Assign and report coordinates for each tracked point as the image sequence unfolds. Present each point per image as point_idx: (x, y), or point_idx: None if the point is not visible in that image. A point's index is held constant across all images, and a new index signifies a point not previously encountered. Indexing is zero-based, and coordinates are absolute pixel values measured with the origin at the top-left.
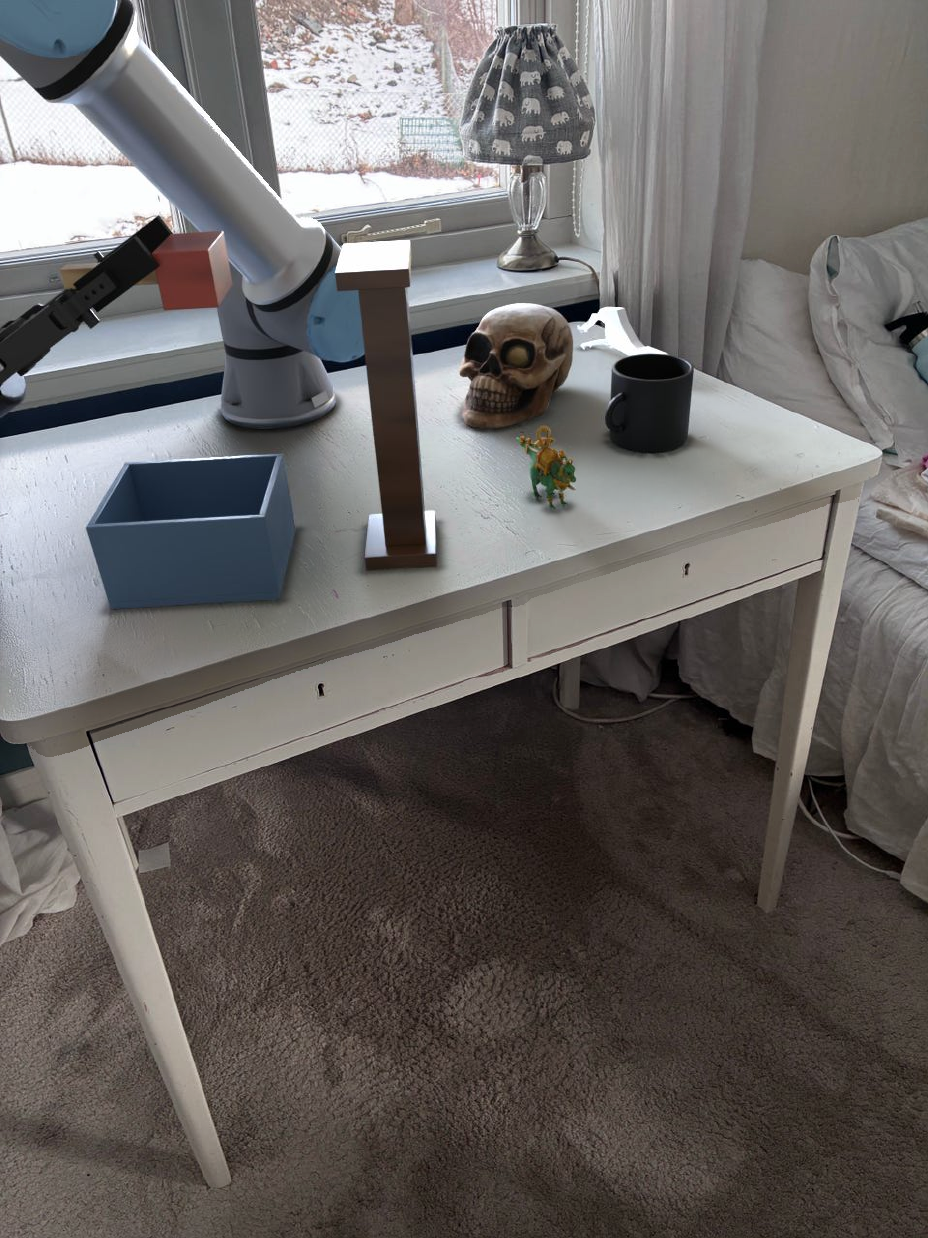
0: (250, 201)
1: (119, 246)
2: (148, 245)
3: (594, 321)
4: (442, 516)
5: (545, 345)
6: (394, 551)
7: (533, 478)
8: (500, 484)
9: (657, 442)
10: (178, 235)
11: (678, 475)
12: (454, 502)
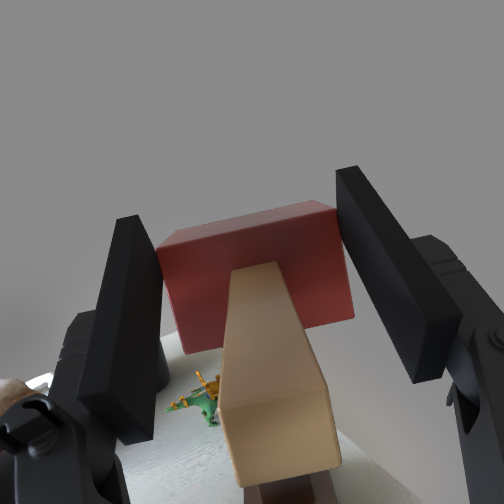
0: None
1: (122, 313)
2: (148, 286)
3: None
4: (233, 482)
5: (38, 391)
6: (324, 489)
7: (214, 409)
8: (183, 451)
9: (168, 371)
10: (182, 239)
11: (201, 369)
12: (207, 478)
